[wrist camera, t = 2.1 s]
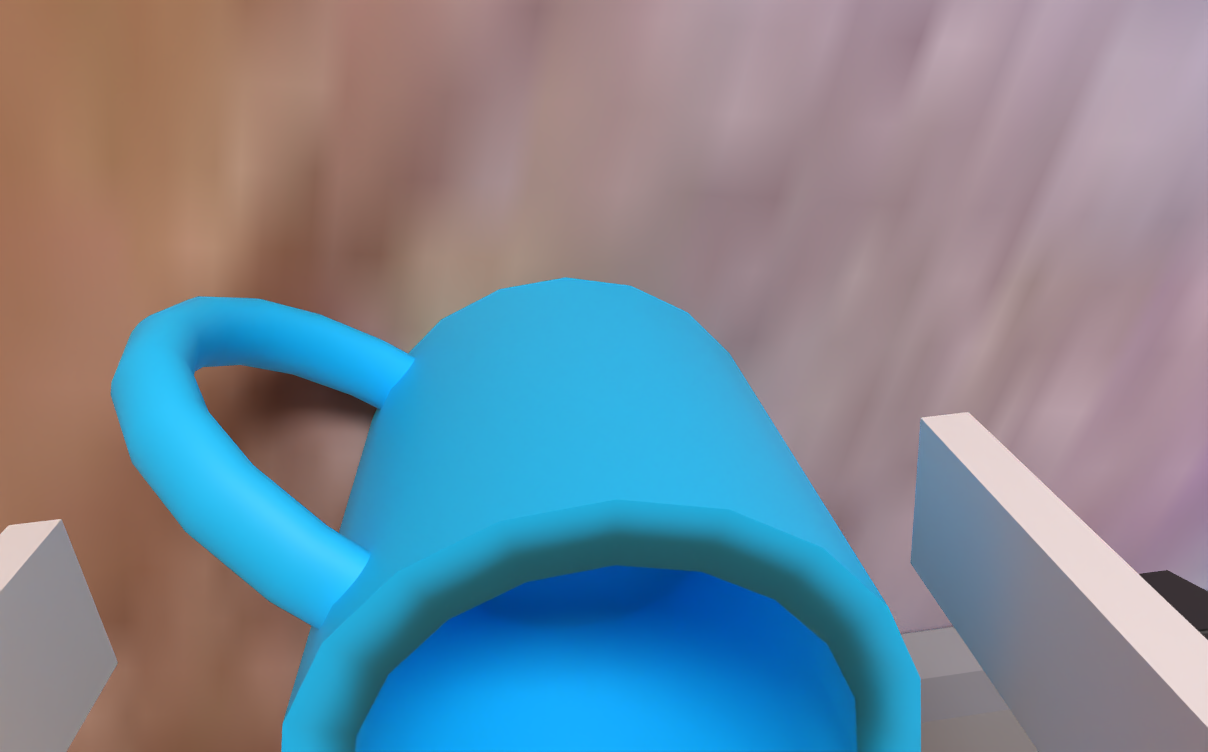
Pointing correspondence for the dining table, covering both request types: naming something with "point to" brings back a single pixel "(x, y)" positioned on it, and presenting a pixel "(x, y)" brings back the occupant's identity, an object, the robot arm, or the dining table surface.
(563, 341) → the mug
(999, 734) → the tray
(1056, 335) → the dining table surface
